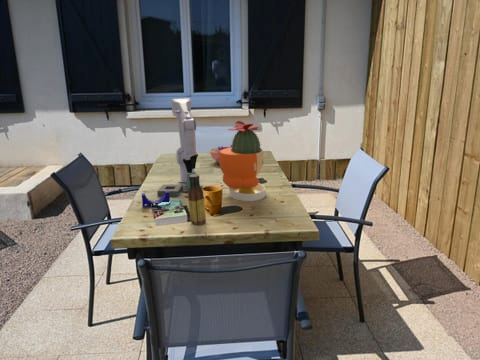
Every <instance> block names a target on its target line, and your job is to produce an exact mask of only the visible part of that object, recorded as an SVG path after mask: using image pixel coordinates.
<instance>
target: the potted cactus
mask: <svg viewBox="0 0 480 360" xmlns="http://www.w3.org/2000/svg"><path fill="white" fill-rule="evenodd" d="M232 127H233V128H228V131H236V133H234V136H233V138H232V139H231V140H232V142H231V145H232V147H230V146H229V147H230V148H226V149H223V150H221V151H220V156H219V168H220V171H221V172H222V174H223V175H222V182H223V183H224V185H226V187H228V195H229V196H230V197H231V198H233V199H235V200H238V201H242V202H243V201H244V202H255V201H260V200H263V199H264V198H265V197H266V186H265V185H263V184H261V183H260V180H259V178H258V177H257V175H259V174H260V173H261V170H262V169H263V165H264V161H265V159H264V158H265V157H264V156H265V155H264V149H262V147H261V146H262V144H261V141H260V140H261V139H260V138H259V136H258V135H257V132H255V131H258V130H262V128H261V127H260V126H259V125H258V124H254V123H253V122H252V123H245V122H244V121H241V120H237V121H236V122H234V125H233V126H232Z"/></svg>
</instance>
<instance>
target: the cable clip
mask: <svg viewBox="0 0 480 360" xmlns="http://www.w3.org/2000/svg"><path fill="white" fill-rule="evenodd" d="M170 197H171V196H169V191H165V194H164V196H160V198H158V199H156V200H155V201H153V200H150V199H149V198H148V197H147V195H146V193H144V192H142V193H141V202H142V208H143V209H145V208H151V204H153V203H161V202H169V201H170V202H171V199H170Z"/></svg>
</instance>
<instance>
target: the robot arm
mask: <svg viewBox="0 0 480 360" xmlns="http://www.w3.org/2000/svg"><path fill="white" fill-rule="evenodd" d="M170 100H171V111H172V116H173V117H176V120H177V124H178V125H177V126H178V134H179V142H180V143H179V144H180V147H179V148H178V149H176V152H175V154H176V164H177V165H178V166H179V172H180V175H179V176H180V179H179V181H178V183H187V173H192V172H195V169H196V167H197V166H196V165H197V159H198V157H199V154H198V153H197V143H196V142H197V140H196V139H197V138H196V131H197V122H196V118H193V114H192V113H191V110H192V109H191V108H192V101H191V98H189V97H187V98H172V99H170Z"/></svg>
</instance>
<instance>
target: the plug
mask: <svg viewBox="0 0 480 360" xmlns="http://www.w3.org/2000/svg"><path fill="white" fill-rule="evenodd" d="M192 174H197V172H196V171H194V172H192V173H187V182H186V186H187V190H189V188H190V180H189V175H192Z"/></svg>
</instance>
